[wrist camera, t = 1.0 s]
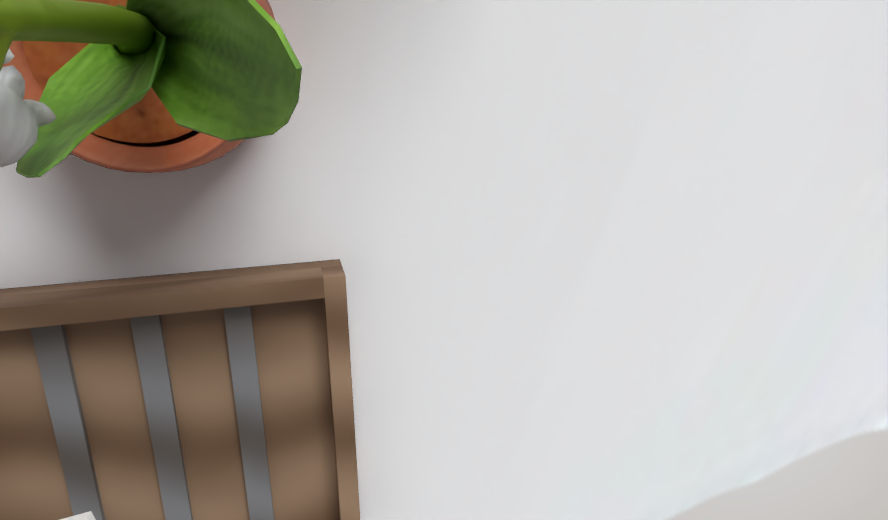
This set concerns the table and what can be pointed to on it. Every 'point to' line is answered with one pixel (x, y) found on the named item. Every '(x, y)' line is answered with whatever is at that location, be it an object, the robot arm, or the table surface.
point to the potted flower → (139, 81)
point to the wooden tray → (179, 397)
